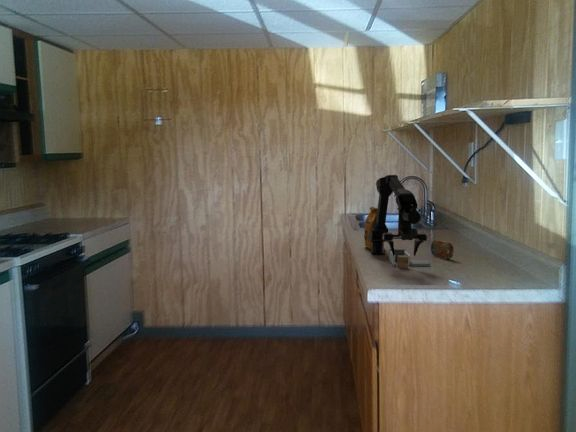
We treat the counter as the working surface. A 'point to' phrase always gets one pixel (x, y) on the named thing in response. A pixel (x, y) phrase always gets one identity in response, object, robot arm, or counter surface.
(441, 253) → the tin
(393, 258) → the grey open rectangular frame
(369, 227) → the coffee package
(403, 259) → the block
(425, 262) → the tile
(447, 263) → the counter surface
